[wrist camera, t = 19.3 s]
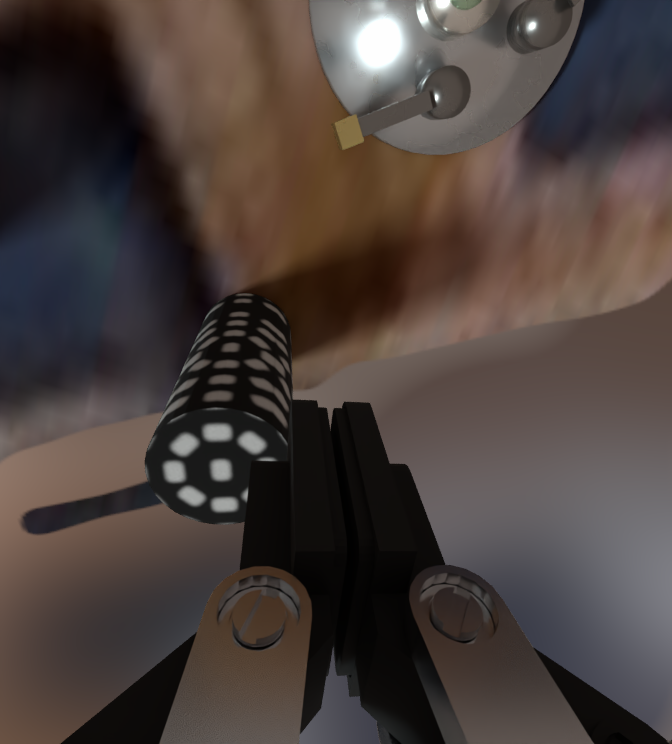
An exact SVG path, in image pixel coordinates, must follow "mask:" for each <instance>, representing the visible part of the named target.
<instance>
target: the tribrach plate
mask: <svg viewBox="0 0 672 744" xmlns="http://www.w3.org/2000/svg"><path fill="white" fill-rule="evenodd" d="M524 1H526V0H309V14H310V22H311V30H312V36H313V40H314V44H315V48H316V52H317V56H318V59H319V61H320V64H321V67H322V70H323V73H324V75H325V77H326V79H327V81H328V83H329V85H330V87H331V89H332V91H333V93H334V94H335V96H336V97H337V99H338V100H339V102H340V103H341V105H342V106H343V108H344V109H345V110H346V111H347V112H348V113H349V115H350V116H352V115H355V114H356V115H357V118H359V117H362V116H364V115H367V114H369V113H372V112H374V111H377V110H379V109H382V108H384V107H387V106H389V105H392V104H394V103H397V102H399V101H402V100H404V99H407V98H409V97H412V96H414V95H415V93H416V89H417V86H418V84H419V82H420V81H421V79H422V78H423V77H424V76H425V75H427V74H428V73H430V72H433V71H435V70H437V69H439V68H441V67H444V66H447V65H454V66H458V67H460V68H461V69H463V70H464V71H465V73H466V74H467V76H468V78H469V80H470V85H471V94H470V98H469V101H468V103H467V105H466V107H465V108H464V110H463V111H462V112H461V113H460V114H458V115H457V116H455V117H453V118H449V119H441V120H429V119H426V118H425V117H423V116H422V115H421V114H420V115H417V116H415V117H412V118H410V119H407V120H405V121H402V122H400V123H397V124H395V125H392V126H389V127H387V128H384V129H382V130H379V131H377V132H374V133H372V134H371V135H373V136H374V137H376V138H377V139H379V140H380V141H382V142H384V143H386V144H389V145H391V146H393V147H395V148H398V149H402V150H405V151H408V152H413V153H420V154H428V155H445V154H451V153H458V152H462V151H466V150H469V149H472V148H476V147H478V146H480V145H482V144H485V143H487V142H489V141H491V140H493V139H495V138H496V137H498V136H499V135H501V134H503V133H504V132H506V131H507V130H509V129H510V128H511V127H512V126H514V125H515V124H516V123H517V122H519V121H520V120H521V119H522V118H523V117H524V116H525V115H526V114H527V113H528V112H529V111H530V110H531V109H532V108H533V107H534V106H535V105H536V103H537V102H538V101H539V100H540V98H541V97H542V96H543V95H544V94H545V92H546V91H547V89H548V88H549V86H550V85H551V83H552V82H553V80H554V79H555V77H556V76H557V74H558V72H559V70H560V68H561V66H562V64H563V63H564V61H565V59H566V57H567V55H568V52H569V50H570V47H571V45H572V42H573V40H574V37H575V35H576V31H577V28H578V25H579V21H580V18H581V15H582V10H583V5H584V0H580V1H579V2H578V3H577V4H576V5H575V6H574V7H573V15H572V21H571V24H570V27H569V29H568V31H567V33H566V34H565V36H564V37H563V38H562V39H561V40H560V41H559V42H557V43H556V44H554V45H552V46H549V47H547V48H544V49H541V50H538V51H535V52H532V53H529V54H520V53H517V52H515V51H514V50H513V49H512V48H511V47H510V45H509V43H508V40H507V24H508V20H509V18H510V15H511V14H512V12H513V11H514V9H515V8H516V7H517V6H518V5H519V4H521V3H522V2H524Z"/></svg>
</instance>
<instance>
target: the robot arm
mask: <svg viewBox="0 0 672 744" xmlns="http://www.w3.org/2000/svg"><path fill="white" fill-rule="evenodd" d="M333 647H334V657H335V668H336V673H337V675H338V676H341V675H347V678H348V688H349V696H350V697H351V696H360V701H361V706H362V707H363V708H364V709H365V710H366V711H367V712H368V713H369V714H370V715H371V716H372V717H373V718H374V719H375V720H377V728H378V736H379V740H380V744H672V740H671V741H668V740H666V739H664V738H663V737H662V736H661V735H659V734H658V733H657V732H656V731H655V730H653V729H652V728H651V727H650V726H648V725H647V724H646V723H644V722H643V721H641V720H640V719H638V718H637V717H635V716H634V715H632V714H631V713H629V712H628V711H627V710H625V709H623V708H622V707H621V706H619V705H618V704H616V703H615V702H613V701H612V700H610V699H609V698H607V697H606V696H604V695H603V694H601V693H600V692H598V691H597V690H596V689H594V688H593V687H591V686H590V685H588V684H587V683H585V682H584V681H582V680H581V679H579V678H578V677H576V676H575V675H573V674H572V673H570V672H569V671H567V670H566V669H564V668H563V667H562V666H560V665H558V664H557V663H556V662H554V661H553V660H551V659H550V658H548V657H547V656H545V655H544V654H542V653H541V652H539V651H538V650H536V649H535V648H533V647H532V645H531V644H530V642H529V640H528V639H527V638H526V636H525V634H524V632H523V631H522V629H521V628H520V626H519V625H518V623H517V621H516V620H515V618H514V617H513V615H512V614H511V612H510V610H509V609H508V607H507V606H506V604H505V602H504V601H503V599H502V598H501V597H500V596H499V594H498V593H497V592H496V591H495V589H494V588H493V587H492V586H491V585H490V584H489V583H488V582H486V581H485V580H484V579H483V578H481V577H480V576H479V575H476V574H475V573H473V572H471V571H469V570H467V569H464V568H460V567H456V566H452V565H445V562H444V560H443V557H442V554H441V552H440V549H439V546H438V544H437V541H436V538H435V536H434V533H433V530H432V528H431V525H430V522H429V520H428V517H427V515H426V512H425V509H424V506H423V504H422V501H421V499H420V496H419V493H418V490H417V488H416V485H415V483H414V480H413V477H412V474H411V472H410V470H409V468H408V466H407V465H405V464H390V463H389V461H388V457H387V454H386V451H385V448H384V445H383V442H382V439H381V436H380V432H379V429H378V426H377V423H376V420H375V417H374V414H373V410H372V407H371V405H370V403H361V402H344V403H343V406H342V408H334V410H333V415H332V424H331V431H330V425H329V419H328V413H327V408H320V407H318V404H317V401H314V400H291V406H290V420H289V434H288V447H287V461H255V460H252V461H251V468H250V477H249V487H248V496H247V506H246V515H245V525H244V534H243V544H242V553H241V563H240V571H237V572H236V573H234V574H232V575H230V576H229V577H227V578H226V579H224V580H223V581H222V582H221V583H220V584H219V586H217V587H216V588H215V590H214V591H213V593H212V595H211V597H210V599H209V601H208V602H207V605H206V607H205V611H204V613H203V616H202V619H201V622H200V625H199V628H198V631H197V632H196V633H195V634H194V635H193V636H191V637H190V638H189V639H188V640H187V641H185V642H184V643H183V644H182V645H180V646H179V647H178V648H177V649H176V650H174V651H173V652H172V653H171V654H169V655H168V656H167V657H166V658H165V659H163V660H162V661H161V662H160V663H158V664H157V665H156V666H155V667H154V668H152V669H151V670H150V671H149V672H147V673H146V674H145V675H144V676H143V677H141V678H140V679H139V680H138V681H136V682H135V683H134V684H133V685H132V686H130V687H129V688H128V689H127V690H125V691H124V692H123V693H122V694H121V695H119V696H118V697H117V698H116V699H114V700H113V701H112V702H111V703H110V704H108V705H107V706H106V707H105V708H103V709H102V710H101V711H100V712H99V713H97V714H96V715H95V716H94V717H92V718H91V719H90V720H89V721H88V722H86V723H85V724H84V725H83V726H81V727H80V728H79V729H78V730H77V731H75V732H74V733H73V734H72V735H71V736H69V737H68V738H67V739H66V740H64V741H63V742H62V743H61V744H299V735H300V734H301V732H302V731H303V730H304V729H305V727H306V726H307V725H308V724H309V722H310V721H311V720H312V719H313V717H314V716H315V715H316V714H317V712H318V711H319V710H320V709H321V705H322V698H323V692H324V686H325V680H326V676H328V673H329V668H330V661H331V655H332V649H333Z"/></svg>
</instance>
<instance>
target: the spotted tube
mask: <svg viewBox="0 0 672 744" xmlns="http://www.w3.org/2000/svg"><path fill="white" fill-rule="evenodd" d="M291 400H293V384H292V351H291V331H290V326H289V323H288V320H287V318H286V316H285V315H284V313H283V312H282V311H281V309H280V308H279V307H278V306H277V305H275V304H274V303H273V302H271V301H270V300H268V299H266V298H264V297H262V296H258V295H255V294H246V293H244V294H235V295H231V296H228V297H226V298H224V299H222V300H220V301H219V302H217V303H216V304H215V305H214V306H213V307H212V308H211V309H210V311H209V312H208V314H207V316H206V318H205V320H204V322H203V324H202V327H201V329H200V331H199V333H198V336H197V338H196V340H195V342H194V345H193V347H192V349H191V351H190V354H189V356H188V358H187V360H186V363H185V365H184V367H183V369H182V372H181V374H180V376H179V378H178V381H177V383H176V385H175V387H174V390H173V392H172V394H171V396H170V399H169V401H168V403H167V405H166V408H165V410H164V412H163V414H162V417H161V419H160V421H159V423H158V426H157V428H156V430H155V433H154V435H153V437H152V439H151V442H150V444H149V446H148V448H147V452H146V457H145V473H146V476H147V479H148V482H149V485H150V487H151V488H152V490H153V491H154V493H155V495H156V496H157V497H158V498H159V499H160V500H161V501H162V502H163V503H164V504H165V505H166V506H168V507H169V508H170V509H172V510H173V511H174V512H176V513H178V514H180V515H182V516H184V517H186V518H189V519H192V520H195V521H198V522H203V523H209V524H234V523H241V522H245V515H246V506H247V496H248V487H249V477H250V468H251V461H252V460H255V461H287V447H288V434H289V420H290V406H291Z"/></svg>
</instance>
